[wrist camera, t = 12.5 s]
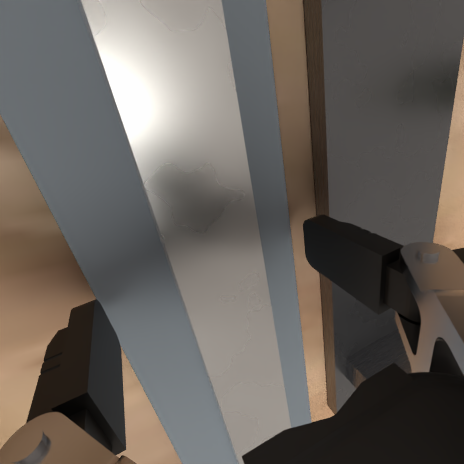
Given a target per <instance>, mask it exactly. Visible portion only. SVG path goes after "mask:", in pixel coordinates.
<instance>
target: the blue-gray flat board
mask: <svg viewBox="0 0 464 464" xmlns="http://www.w3.org/2000/svg"><path fill="white" fill-rule="evenodd" d="M222 6H223V12H224V19H225V25H226V31H227V37H228V43H229V49H230V55H231V62H232V68H233V74H234V80H235V86H236V92H237V98H238V104H239V111H240V117H241V123H242V129H243V135H244V141H245V147H246V154H247V160H248V166H249V172H250V178H251V184H252V190H253V196H254V203H255V209H256V215H257V221H258V227H259V233H260V239H261V246H262V252H263V258H264V264H265V270H266V276H267V282H268V288H269V295H270V301H271V307H272V313H273V319H274V325H275V331H276V338H277V344H278V350H279V356H280V362H281V368H282V374H283V380H284V387H285V393H286V399H287V405H288V411H289V417H290V423H291V428H293V427H297V426H301V425H304V424H308V423H311V415H310V405H309V396H308V387H307V377H306V368H305V359H304V350H303V340H302V331H301V322H300V313H299V303H298V294H297V285H296V276H295V266H294V257H293V248H292V238H291V229H290V220H289V211H288V201H287V192H286V183H285V174H284V164H283V155H282V146H281V137H280V127H279V118H278V109H277V99H276V90H275V81H274V72H273V62H272V53H271V44H270V35H269V25H268V16H267V7H266V0H222ZM0 115H1V117H2V118H3V120H4V122H5V124H6V126H7V128H8V130H9V132H10V134H11V136H12V138H13V140H14V142H15V143H16V145H17V147H18V149H19V151H20V153H21V155H22V157H23V159H24V161H25V163H26V165H27V166H28V168H29V170H30V172H31V174H32V176H33V178H34V180H35V182H36V184H37V186H38V188H39V189H40V191H41V193H42V195H43V197H44V199H45V201H46V203H47V205H48V207H49V209H50V211H51V213H52V214H53V216H54V218H55V220H56V222H57V224H58V226H59V228H60V230H61V232H62V234H63V236H64V237H65V239H66V241H67V243H68V245H69V247H70V249H71V251H72V253H73V255H74V257H75V259H76V261H77V262H78V264H79V266H80V268H81V270H82V272H83V274H84V276H85V278H86V280H87V282H88V284H89V285H90V287H91V289H92V291H93V293H94V295H95V297H96V299H97V300H98V301H99V302H100V303H101V305H102V307H103V309H104V311H105V313H106V315H107V317H108V319H109V321H110V323H111V324H112V326H113V328H114V330H115V332H116V334H117V337H118V339H119V343H120V345H121V347H122V349H123V351H124V353H125V355H126V356H127V358H128V360H129V362H130V364H131V366H132V368H133V370H134V372H135V374H136V376H137V378H138V380H139V381H140V383H141V385H142V387H143V389H144V391H145V393H146V395H147V397H148V399H149V401H150V403H151V404H152V406H153V408H154V410H155V412H156V414H157V416H158V418H159V420H160V422H161V424H162V426H163V427H164V429H165V431H166V433H167V435H168V437H169V439H170V441H171V443H172V445H173V447H174V449H175V451H176V452H177V454H178V456H179V458H180V460H181V462H182V464H238V463H237V460H236V458H235V455H234V452H233V449H232V446H231V443H230V440H229V437H228V434H227V432H226V429H225V426H224V423H223V420H222V417H221V414H220V411H219V408H218V406H217V403H216V400H215V397H214V394H213V391H212V388H211V385H210V382H209V380H208V377H207V374H206V371H205V368H204V365H203V362H202V359H201V357H200V354H199V351H198V348H197V345H196V342H195V339H194V336H193V333H192V331H191V328H190V325H189V322H188V319H187V316H186V313H185V310H184V307H183V305H182V302H181V299H180V296H179V293H178V290H177V287H176V284H175V281H174V279H173V276H172V273H171V270H170V267H169V264H168V261H167V258H166V256H165V253H164V250H163V247H162V244H161V241H160V238H159V235H158V232H157V230H156V227H155V224H154V221H153V218H152V215H151V212H150V209H149V206H148V204H147V201H146V198H145V195H144V192H143V189H142V186H141V183H140V180H139V178H138V175H137V172H136V169H135V166H134V163H133V160H132V157H131V155H130V152H129V149H128V146H127V143H126V140H125V137H124V134H123V131H122V129H121V126H120V123H119V120H118V117H117V114H116V111H115V108H114V105H113V103H112V100H111V97H110V94H109V91H108V88H107V85H106V82H105V79H104V77H103V74H102V71H101V68H100V65H99V62H98V59H97V56H96V54H95V51H94V48H93V45H92V42H91V39H90V36H89V33H88V30H87V28H86V25H85V22H84V19H83V16H82V13H81V10H80V7H79V4H78V2H77V0H0Z"/></svg>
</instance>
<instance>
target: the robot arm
mask: <svg viewBox="0 0 464 464" xmlns="http://www.w3.org/2000/svg"><path fill="white" fill-rule="evenodd" d="M303 231H304V243H305V254H306V258H307V260H308V262H309V264H310V265H311V266H312V267H313V268H314V269H315V270H317V271H318V272H320V273H321V274H322V275H324V276H325V277H327V278H328V279H329V280H331V281H332V282H333V283H335V284H336V285H338V286H339V287H340V288H342V289H343V290H345V291H346V292H347V293H349V294H350V295H352V296H353V297H354V298H356V299H357V300H358V301H360V302H361V303H363V304H364V305H365V306H367V307H368V308H370V309H371V310H372V311H374V312H375V313H377V314H378V315H379V314H381V313H383V312H385V311H387V310H389V309H390V308H392V309H393V310H395V317H394V318H395V321H396V324H397V327H398V330H399V333H400V336H401V339H402V341H403V344H404V347H405V350H406V353H407V356H408V359H409V362H410V365H411V369H412V373H408V374H407V373H406V372H405V371H404V370H402V369H401V368H400V367H399V366H398V365H396V364H395V363H392V364H391V365H389V366H388V367H386V368H384V369H383V370H381V371H379V372H378V373H376V374H374V375H373V376H371V377H370V378H368V379H366V380H365V381H363V382H362V383H361V384H360V385H359V386H358V387H357V389H356V390H355V391H354V392H353V394H352V395H351V396H350V397H349V398H348V400H347V401H346V402H345V403H344V405H343V406H342V407H341V408H340V410H339V411H338V412H337V413H336V414H335V415H334V416H332V417H330V418H327V419H323V420H319V421H316V422H312V423H308V424H304V425H301V426H297V427H293V428H289V429H286V430H283V431H282V432H280V433H278V434H277V435H275V436H274V437H272V438H270V439H269V440H267V441H265V442H264V443H262V444H261V445H259V446H257V447H256V448H254V449H252V450H251V451H249V452H247V453H246V454H244V455H243V456H242V459H243V462H244V464H464V248H460V249H455V250H451V249H449V248H447V247H445V246H442V245H439V244H435V243H429V242H415V243H410V244H407V245H405V246H403V245H401V244H399V243H396V242H394V241H392V240H389V239H387V238H384V237H382V236H380V235H377V234H375V233H371V232H370V231H368V230H366V229H362V228H361V227H358V226H356V225H354V224H351V223H346V222H341V221H338V220H335V219H333V218H331V217H329V216H326V215H324V214H321V215H318V216H316V217H313V218H310V219H308V220H305V221H304V224H303ZM40 373H41V375H40V376H39V379H38V382H37V386H36V390H35V393H34V397H33V400H32V404H31V408H30V411H29V415H28V419H27V422H26V424H25V425H24V426H22V427H21V428H20V429H19V430H17V431H16V432H15V433H14V434H13V435H12V436H11V437H10V438H9V439H8V441H7V442H6V443H5V444H4V445H3V447H2V448H1V449H0V464H136V463H135V462H133V461H132V460H131V459H129V458H128V457H126V456H123V455H122V456H121V457H120V458H118V457H117V456H115V455H117V454H119V453H121V452H123V451H125V450H126V437H125V417H124V397H123V377H122V357H121V347H120V343H119V339H118V337H117V334H116V332H115V330H114V328H113V326H112V324H111V323H110V321H109V319H108V317H107V315H106V313H105V311H104V309H103V307H102V305H101V303H100V302H99V301H98V300H93V301H91V302H88V303H86V304H83V305H80V306H78V307H75V308H73V309H72V310H71V313H70V318H69V323H68V327H67V328H64V329H62V330H59V331H58V332H57V333H56V335H55V336H54V338H53V339H52V340H51V342H50V343H49V345H48V346H47V350H46V353H45V357H44V363H43V364H42V368H41V372H40Z"/></svg>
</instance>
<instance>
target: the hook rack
mask: <svg viewBox="0 0 464 464" xmlns="http://www.w3.org/2000/svg"><path fill="white" fill-rule="evenodd" d="M304 13H305V30H306V47H307V63H308V80H309V97H310V114H311V130H312V147H313V164H314V181H315V197H316V214H317V216H318V215H321V214H324V215H326V216H329V217H331V218H333V219H335V220H338V221H341V222H346V223H351V224H354V225H356V226H358V227H361V228H362V229H366V230H368V231H370V232H371V233H375V234H377V235H380V236H382V237H384V238H387V239H389V240H392V241H394V242H396V243H399V244H401V245H403V246H405V245H407V244H410V243H415V242H429V243H433V237H434V231H435V224H436V217H437V211H438V204H439V197H440V191H441V184H442V177H443V171H444V164H445V158H446V151H447V144H448V138H449V131H450V124H451V118H452V111H453V105H454V98H455V91H456V85H457V78H458V71H459V65H460V58H461V51H462V45H463V38H464V0H304ZM320 281H321V298H322V315H323V331H324V348H325V365H326V382H327V398H328V406H329V408H330V409H331V410H332V412H333V413H334V414H336V413H337V412H338V411H339V410H340V408H341V407H342V406H343V405H344V403H345V402H346V401H347V400H348V398H349V397H350V396H351V395H352V394H353V392H354V391H355V390H356V389H357V387H358V386H359V385H360V384H361V383H362V382H363V381H365V380H366V379H368V378H370V377H371V376H373V375H374V374H376V373H378V372H379V371H381V370H383V369H384V368H386V367H388V366H389V365H391V364H392V363H395V364H396V365H398V366H399V367H400V368H401V369H402V370H404V371H405V372H406V373H407V374H408V373H412V369H411V365H410V362H409V359H408V356H407V353H406V350H405V347H404V344H403V341H402V339H401V336H400V333H399V330H398V327H397V324H396V321H395V318H394V317H395V310H393V309H392V308H390V309H389V310H387V311H385V312H383V313H381V314H379V315H378V314H377V313H375V312H374V311H372V310H371V309H370V308H368V307H367V306H365V305H364V304H363V303H361V302H360V301H358V300H357V299H356V298H354V297H353V296H352V295H350V294H349V293H347V292H346V291H345V290H343V289H342V288H340V287H339V286H338V285H336V284H335V283H333V282H332V281H331V280H329V279H328V278H327V277H325V276H324V275H322V274H321V273H320Z"/></svg>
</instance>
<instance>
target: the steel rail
mask: <svg viewBox="0 0 464 464" xmlns="http://www.w3.org/2000/svg"><path fill="white" fill-rule="evenodd" d="M77 2H78V4H79V7H80V10H81V13H82V16H83V19H84V22H85V25H86V28H87V30H88V33H89V36H90V39H91V42H92V45H93V48H94V51H95V54H96V56H97V59H98V62H99V65H100V68H101V71H102V74H103V77H104V79H105V82H106V85H107V88H108V91H109V94H110V97H111V100H112V103H113V105H114V108H115V111H116V114H117V117H118V120H119V123H120V126H121V129H122V131H123V134H124V137H125V140H126V143H127V146H128V149H129V152H130V155H131V157H132V160H133V163H134V166H135V169H136V172H137V175H138V178H139V180H140V183H141V186H142V189H143V192H144V195H145V198H146V201H147V204H148V206H149V209H150V212H151V215H152V218H153V221H154V224H155V227H156V230H157V232H158V235H159V238H160V241H161V244H162V247H163V250H164V253H165V256H166V258H167V261H168V264H169V267H170V270H171V273H172V276H173V279H174V281H175V284H176V287H177V290H178V293H179V296H180V299H181V302H182V305H183V307H184V310H185V313H186V316H187V319H188V322H189V325H190V328H191V331H192V333H193V336H194V339H195V342H196V345H197V348H198V351H199V354H200V357H201V359H202V362H203V365H204V368H205V371H206V374H207V377H208V380H209V382H210V385H211V388H212V391H213V394H214V397H215V400H216V403H217V406H218V408H219V411H220V414H221V417H222V420H223V423H224V426H225V429H226V432H227V434H228V437H229V440H230V443H231V446H232V449H233V452H234V455H235V458H236V460H237V463H238V464H244V462H243V459H242V456H243V455H244V454H246V453H247V452H249V451H251V450H252V449H254V448H256V447H257V446H259V445H261V444H262V443H264V442H265V441H267V440H269V439H270V438H272V437H274V436H275V435H277V434H278V433H280V432H282V431H283V430H286V429H289V428H291V423H290V417H289V411H288V405H287V399H286V393H285V387H284V380H283V374H282V368H281V362H280V356H279V350H278V344H277V338H276V331H275V325H274V319H273V313H272V307H271V301H270V295H269V288H268V282H267V276H266V270H265V264H264V258H263V252H262V246H261V239H260V233H259V227H258V221H257V215H256V209H255V203H254V196H253V190H252V184H251V178H250V172H249V166H248V160H247V154H246V147H245V141H244V135H243V129H242V123H241V117H240V111H239V104H238V98H237V92H236V86H235V80H234V74H233V68H232V62H231V55H230V49H229V43H228V37H227V31H226V25H225V19H224V12H223V6H222V0H77Z"/></svg>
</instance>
